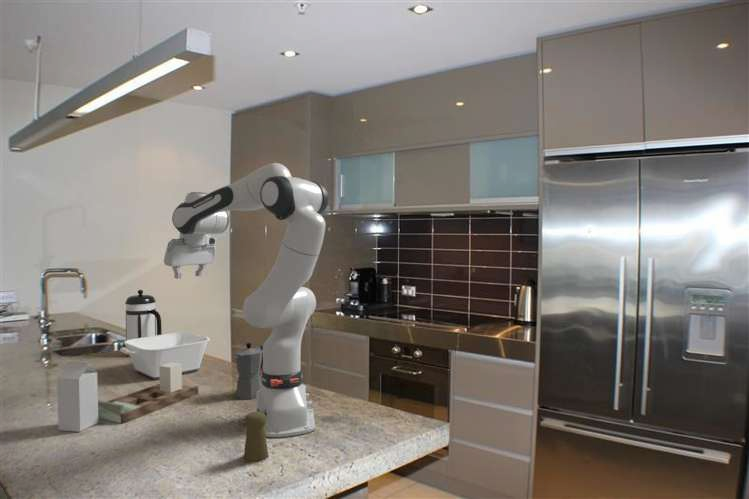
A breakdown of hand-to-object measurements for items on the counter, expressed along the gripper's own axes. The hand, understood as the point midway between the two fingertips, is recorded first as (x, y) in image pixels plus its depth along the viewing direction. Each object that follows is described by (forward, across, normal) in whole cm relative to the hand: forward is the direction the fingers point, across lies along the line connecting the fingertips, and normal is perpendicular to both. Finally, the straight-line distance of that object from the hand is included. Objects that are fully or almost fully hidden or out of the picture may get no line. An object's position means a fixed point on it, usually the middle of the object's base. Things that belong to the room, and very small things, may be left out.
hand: (188, 277), depth 178 cm
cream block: (+38, -7, -5) cm, 39 cm away
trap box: (+40, -17, -6) cm, 44 cm away
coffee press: (+52, +31, +52) cm, 80 cm away
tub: (+45, +14, +19) cm, 51 cm away
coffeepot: (+35, +6, -30) cm, 47 cm away
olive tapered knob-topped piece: (+29, -33, -63) cm, 77 cm away
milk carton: (+40, -39, -5) cm, 56 cm away
